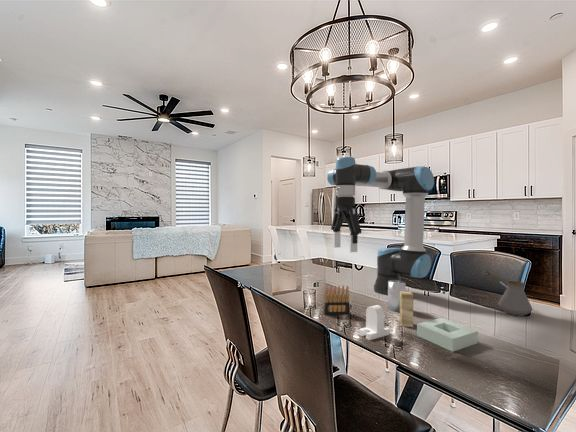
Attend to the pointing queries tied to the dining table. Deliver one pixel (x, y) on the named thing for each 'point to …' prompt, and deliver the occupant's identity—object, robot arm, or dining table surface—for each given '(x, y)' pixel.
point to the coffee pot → (513, 298)
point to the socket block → (447, 334)
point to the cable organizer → (374, 323)
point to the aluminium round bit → (395, 294)
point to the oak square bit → (406, 309)
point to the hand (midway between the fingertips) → (344, 249)
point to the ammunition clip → (336, 301)
